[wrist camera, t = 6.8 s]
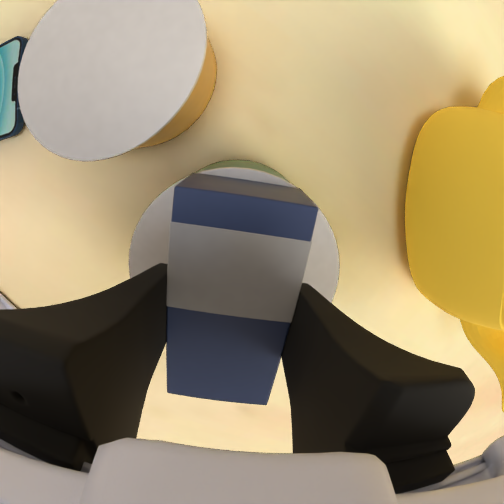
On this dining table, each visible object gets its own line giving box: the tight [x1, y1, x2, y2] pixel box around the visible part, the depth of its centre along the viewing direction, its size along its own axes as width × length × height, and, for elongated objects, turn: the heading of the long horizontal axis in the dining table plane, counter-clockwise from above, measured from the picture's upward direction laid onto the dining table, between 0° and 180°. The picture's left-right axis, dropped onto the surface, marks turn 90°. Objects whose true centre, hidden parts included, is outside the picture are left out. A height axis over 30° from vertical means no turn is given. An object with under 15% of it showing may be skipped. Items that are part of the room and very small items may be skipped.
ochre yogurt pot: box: [18, 0, 217, 161], centre depth 12 cm, size 9×9×6 cm
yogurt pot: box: [129, 160, 340, 303], centre depth 15 cm, size 9×9×6 cm
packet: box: [166, 173, 318, 405], centre depth 11 cm, size 8×4×3 cm, turn 171°
